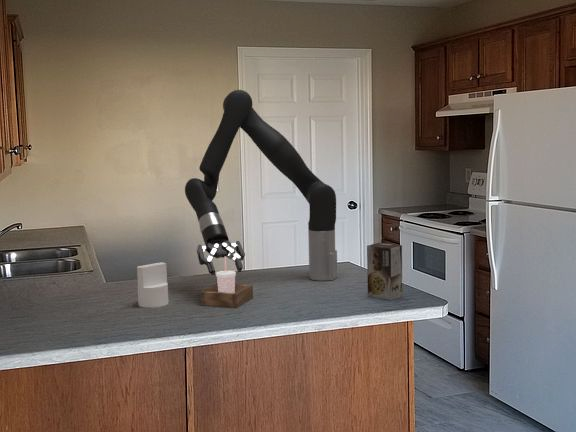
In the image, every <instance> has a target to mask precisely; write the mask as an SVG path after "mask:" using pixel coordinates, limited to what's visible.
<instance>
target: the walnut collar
mask: <svg viewBox="0 0 576 432" xmlns="http://www.w3.org/2000/svg"><path fill="white" fill-rule="evenodd" d="M253 287H254V286H253V285H252V284H238V283H237V284H236V283H235V293H226V292H218V283H215V284H213V285H211V286H210V287H207V288H206V289H204V290H202V291H200V293H199V296H200V306H205V307H206V306H207V307H208V306H209V307H222V308H233V309H234V308H235V309H236V308H237V309H238V308H239V307H241V306H242V305H245V304H246V303H248V302H249V301H251V300H252V299H254V292H253V291H254V288H253Z"/></svg>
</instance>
